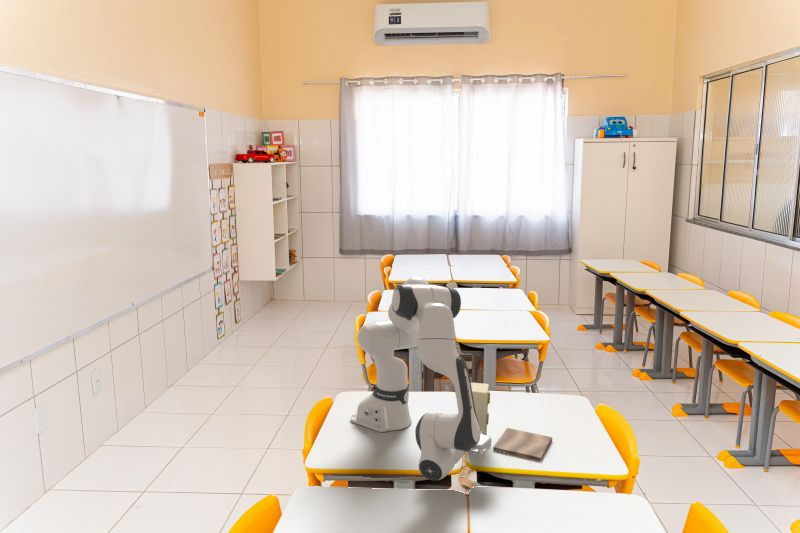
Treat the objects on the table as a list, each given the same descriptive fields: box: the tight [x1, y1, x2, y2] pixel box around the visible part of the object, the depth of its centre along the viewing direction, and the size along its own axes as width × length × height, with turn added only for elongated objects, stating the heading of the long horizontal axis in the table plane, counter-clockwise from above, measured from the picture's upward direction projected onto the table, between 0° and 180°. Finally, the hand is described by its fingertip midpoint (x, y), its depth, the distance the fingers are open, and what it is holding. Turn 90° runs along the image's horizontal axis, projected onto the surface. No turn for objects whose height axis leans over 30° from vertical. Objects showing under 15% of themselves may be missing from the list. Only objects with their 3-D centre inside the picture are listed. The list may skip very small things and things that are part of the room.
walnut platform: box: [492, 427, 553, 462], centre depth 215 cm, size 16×16×1 cm
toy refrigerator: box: [471, 382, 491, 435], centre depth 213 cm, size 8×7×21 cm
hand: (466, 428), depth 203 cm, fingers open, 8 cm apart
